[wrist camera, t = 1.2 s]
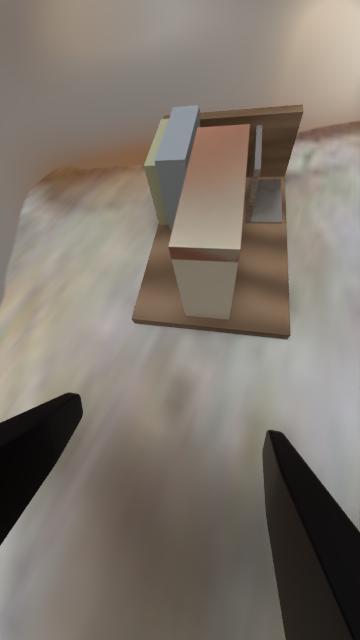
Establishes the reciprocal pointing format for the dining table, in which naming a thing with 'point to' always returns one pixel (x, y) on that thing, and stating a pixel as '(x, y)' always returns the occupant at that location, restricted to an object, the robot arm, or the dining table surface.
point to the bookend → (262, 191)
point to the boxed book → (211, 221)
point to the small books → (171, 160)
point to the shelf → (256, 244)
